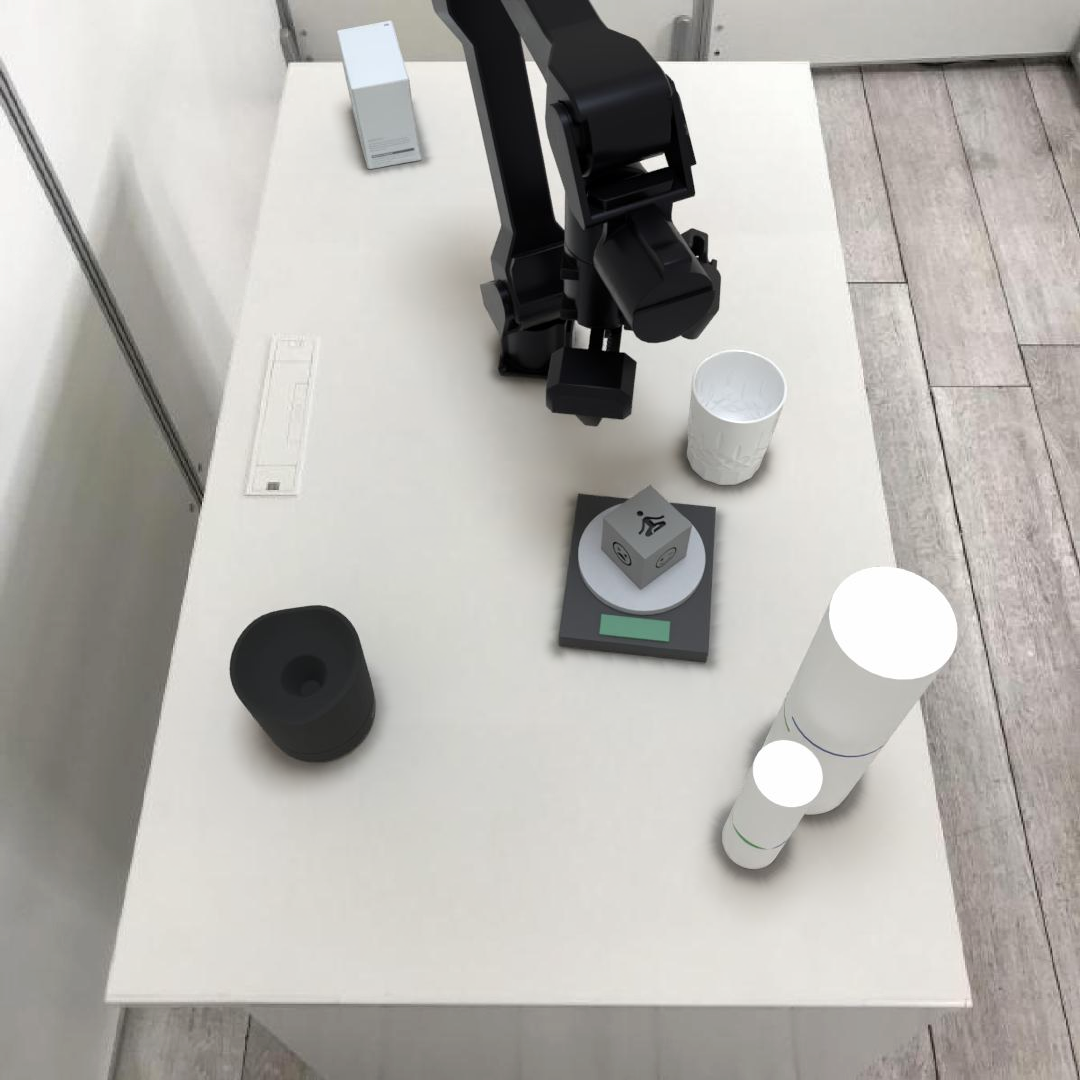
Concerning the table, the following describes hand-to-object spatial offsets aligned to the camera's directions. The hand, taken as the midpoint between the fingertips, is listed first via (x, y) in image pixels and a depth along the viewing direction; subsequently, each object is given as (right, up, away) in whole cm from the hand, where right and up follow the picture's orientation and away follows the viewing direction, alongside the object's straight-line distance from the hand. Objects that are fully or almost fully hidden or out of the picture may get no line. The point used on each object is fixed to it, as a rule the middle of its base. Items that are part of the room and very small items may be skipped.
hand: (597, 379), depth 87 cm
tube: (+11, -35, -8) cm, 38 cm away
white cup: (+12, -6, +10) cm, 17 cm away
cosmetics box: (-22, +33, +34) cm, 52 cm away
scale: (+4, -17, +3) cm, 17 cm away
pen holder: (-22, -27, -2) cm, 35 cm away
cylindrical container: (+16, -31, -5) cm, 35 cm away
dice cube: (+4, -14, +2) cm, 15 cm away
